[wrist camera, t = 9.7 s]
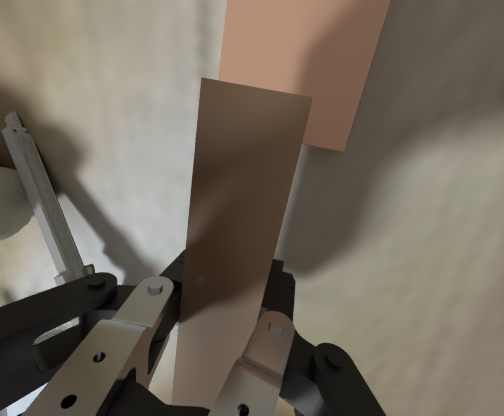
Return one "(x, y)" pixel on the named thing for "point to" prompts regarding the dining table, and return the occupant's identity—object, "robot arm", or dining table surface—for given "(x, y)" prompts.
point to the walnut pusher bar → (232, 226)
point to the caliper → (44, 203)
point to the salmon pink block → (306, 56)
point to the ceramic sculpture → (13, 203)
